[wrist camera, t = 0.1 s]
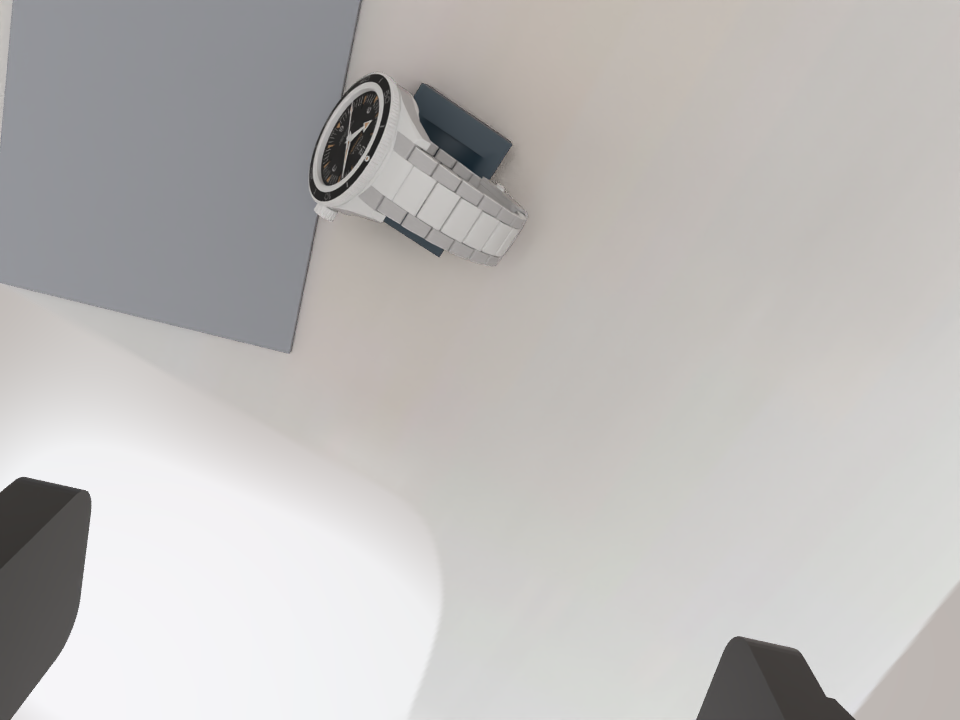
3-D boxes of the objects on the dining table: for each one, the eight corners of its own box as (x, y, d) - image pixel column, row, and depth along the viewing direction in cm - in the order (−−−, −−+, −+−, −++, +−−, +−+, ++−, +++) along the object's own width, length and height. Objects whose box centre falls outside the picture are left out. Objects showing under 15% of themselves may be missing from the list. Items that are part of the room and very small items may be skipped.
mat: (36, -205, 33) (31, -209, 33) (382, -106, 34) (381, -108, 34) (-7, 278, 39) (-12, 280, 38) (291, 351, 40) (289, 353, 39)
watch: (388, 57, 36) (349, 39, 25) (543, 163, 37) (566, 187, 27) (322, 169, 37) (259, 196, 27) (473, 268, 39) (470, 330, 28)
